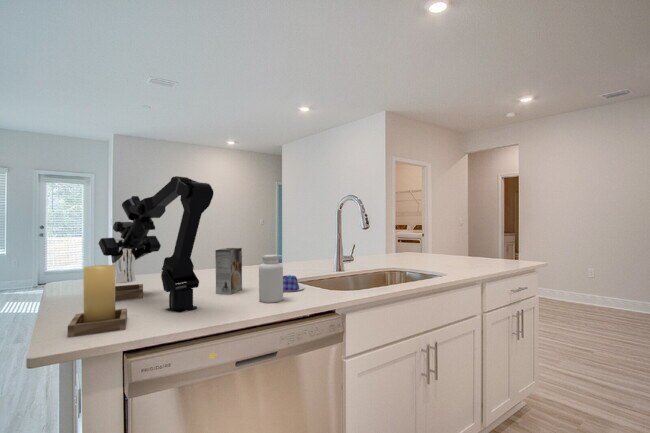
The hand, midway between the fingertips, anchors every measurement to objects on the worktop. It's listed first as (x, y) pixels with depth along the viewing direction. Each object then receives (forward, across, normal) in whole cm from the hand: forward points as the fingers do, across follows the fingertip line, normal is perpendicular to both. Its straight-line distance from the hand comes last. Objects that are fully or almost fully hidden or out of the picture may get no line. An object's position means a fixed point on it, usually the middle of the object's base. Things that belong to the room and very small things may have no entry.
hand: (123, 261), depth 122 cm
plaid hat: (-20, -41, +39) cm, 60 cm away
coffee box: (-10, -25, +28) cm, 39 cm away
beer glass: (+4, 0, +6) cm, 8 cm away
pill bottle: (-25, -24, +44) cm, 56 cm away
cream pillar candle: (-14, +21, +32) cm, 41 cm away
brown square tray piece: (-14, +21, +32) cm, 41 cm away
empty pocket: (+8, 0, +10) cm, 12 cm away
